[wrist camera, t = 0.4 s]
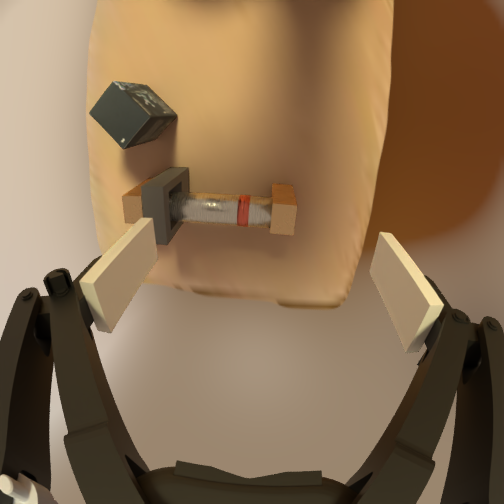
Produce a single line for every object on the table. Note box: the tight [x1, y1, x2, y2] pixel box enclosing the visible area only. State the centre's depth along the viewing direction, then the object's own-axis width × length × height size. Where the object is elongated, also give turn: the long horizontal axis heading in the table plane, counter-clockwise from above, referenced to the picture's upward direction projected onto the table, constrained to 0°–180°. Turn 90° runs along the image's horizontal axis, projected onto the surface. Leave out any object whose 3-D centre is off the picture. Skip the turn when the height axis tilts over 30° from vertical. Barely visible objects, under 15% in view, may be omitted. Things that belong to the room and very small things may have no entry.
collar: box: [141, 167, 189, 245], centre depth 37 cm, size 3×8×11 cm, turn 177°
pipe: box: [122, 178, 297, 235], centre depth 38 cm, size 23×4×10 cm, turn 87°
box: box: [89, 81, 177, 149], centre depth 32 cm, size 8×6×11 cm
